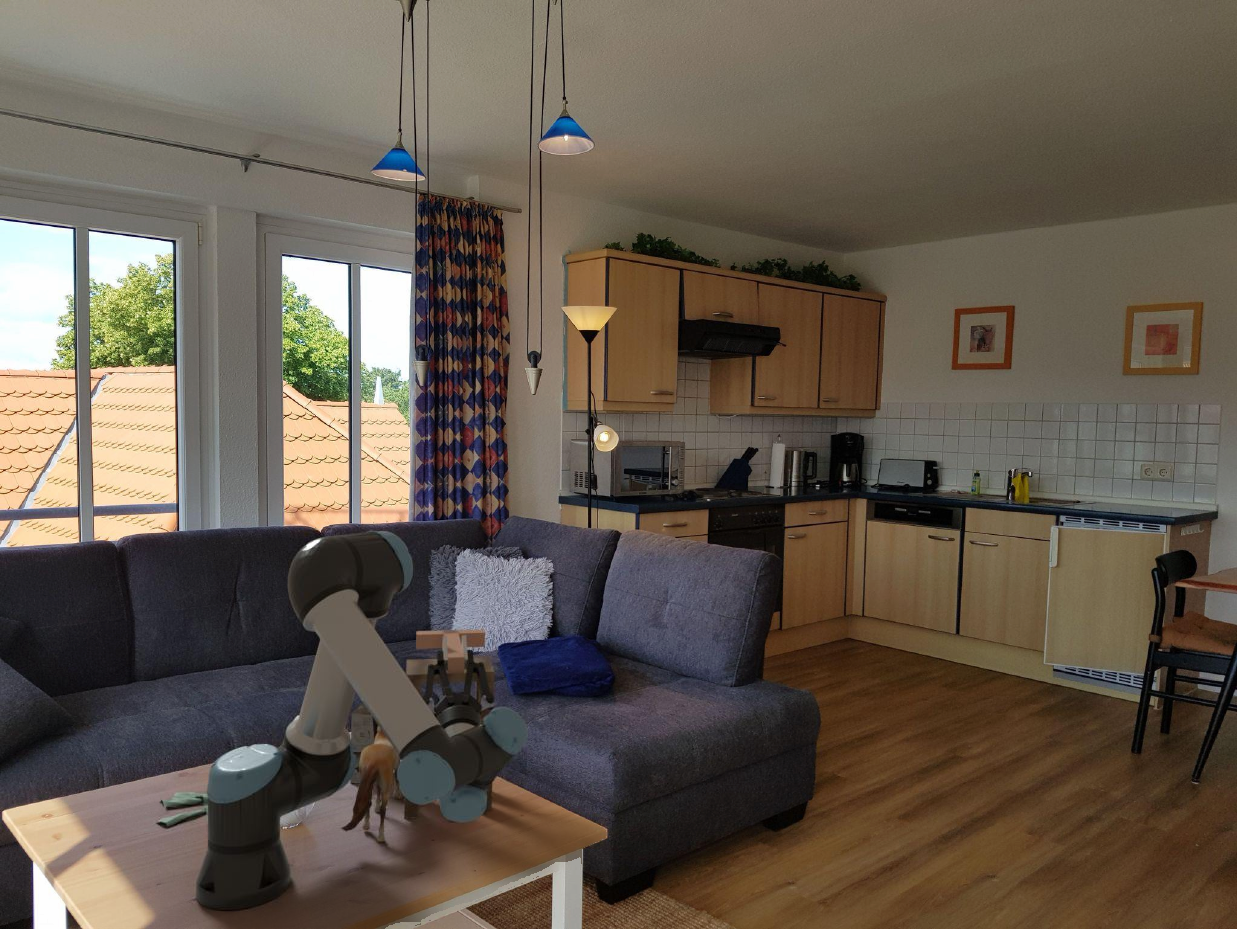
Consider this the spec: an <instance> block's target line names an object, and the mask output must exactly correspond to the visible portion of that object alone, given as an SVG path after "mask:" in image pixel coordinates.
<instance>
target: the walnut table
mask: <svg viewBox="0 0 1237 929" xmlns="http://www.w3.org/2000/svg"><path fill="white" fill-rule="evenodd" d="M473 658H474V662H475V663H479V662H482V663H484V667H485V672H486V676H487V681H488V686H489V690H490V692H491V694H492V695H493V696H494V697H495V670H494V669H495V668H494V666H493V663H492V660H491V657H490V656H477V657H474V656H473ZM430 664H433V665H436V664H437V658H423V659H422V658H420V659H419V658H418V659H406V673H405V674H406V675H407V677H408V678H409V680H410V681H411V683H412V684H413V685H414V687H415V688H416V690H417V691H418V693H419V694H420V696H421V697H422V685H426V681H427V671H428V665H430ZM466 671H467V670H464V673H450V674H448V671H447V670H446V672H447V676H448V680H449V684H452V683H453V684H454V683H455V684H457V683H465V678H466ZM472 683H475V688H474V689H475V690H474V691H475V694H474V695H475V696H474V698H475V699H476V700H477V701H478V702H479V703H481V698H482V697H481V692H480V687H479V682H478V677H477V673H473V679H472ZM434 684H440V682H439V678H438V674H437V675H434V683H433V685H434ZM494 708H495V707H494ZM494 708H493V709H494ZM493 709H492V710H493ZM492 710H488V709H484V710H482V713H481V715H480V723H481V722H482V721H483V718H484V717H485V716H486V715H488V714H489V713H490V712H491V711H492ZM486 793H487V806H486V809H485V811H484V813H492V811H493V782H492V783H491V785H490V786H489V787H488V788H487V791H486ZM403 807H404V808H403V809H404V810H403V811H404V812H403V818H404V819H413V818H412V817H418V818H420V805H419V804H415V803H413V802H411V801H409V800H408V799H407V798H406V797H405V796H404V806H403ZM484 813H483V814H484Z"/></svg>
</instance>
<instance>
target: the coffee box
mask: <svg viewBox="0 0 1237 929" xmlns="http://www.w3.org/2000/svg"><path fill="white" fill-rule="evenodd" d="M350 721H351V723H350V724H351V726H350V727H351V728H350V739H351V740H352V742H353V745H354V748H355V750H354V751H353V754H355V755H356V766H355V770H354V773H353V776H352V778H351V779H350V781H349V782H350V784H360V782H361V780H362V776H361V771H360V757H361V753H362V751H363V749H364V748H366V747H367V746H369V745H373V744H374V740H375V737H376V735H377V733H378V731H377V729H378V724H377V722H376V721H375V719H374V718H373V716H372V715H371V713H370V712H369V710H368V709H367V707H366V706H365V704H364V703H363V701H362V702H361V703H360V704H359V705H358V706H357V707H356V708H355V709H354V710H353V711H352V712H351V720H350ZM374 785H376V781H375V783H374Z"/></svg>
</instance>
